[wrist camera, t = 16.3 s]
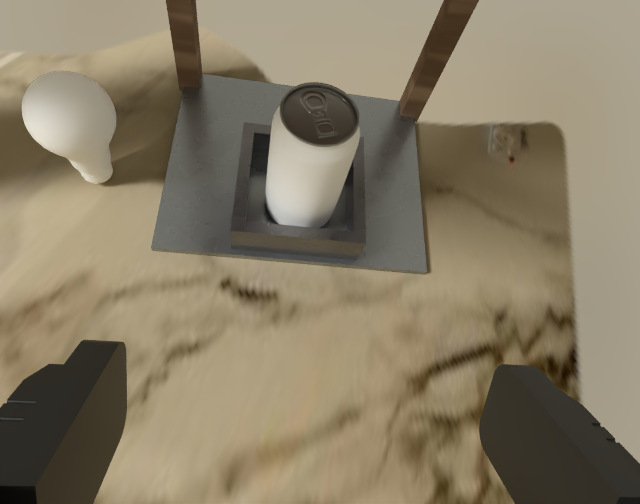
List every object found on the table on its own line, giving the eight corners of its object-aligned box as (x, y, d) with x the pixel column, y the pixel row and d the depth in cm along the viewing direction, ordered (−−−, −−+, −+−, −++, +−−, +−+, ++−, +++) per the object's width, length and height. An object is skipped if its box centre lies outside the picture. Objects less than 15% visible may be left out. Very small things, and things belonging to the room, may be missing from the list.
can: (321, 168, 44) (347, 72, 34) (343, 225, 42) (379, 142, 31) (256, 180, 42) (261, 83, 32) (275, 241, 40) (289, 158, 29)
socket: (424, 274, 42) (441, 256, 38) (152, 250, 39) (143, 228, 35) (411, 106, 50) (424, 79, 47) (187, 76, 47) (183, 43, 44)
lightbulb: (63, 151, 41) (8, 52, 31) (135, 147, 43) (104, 50, 33) (61, 209, 39) (2, 122, 29) (137, 203, 40) (105, 117, 30)
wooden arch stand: (425, 226, 44) (661, -78, 20) (156, 199, 41) (33, -210, 16) (414, 100, 51) (578, -242, 26) (184, 68, 48) (126, -358, 23)
